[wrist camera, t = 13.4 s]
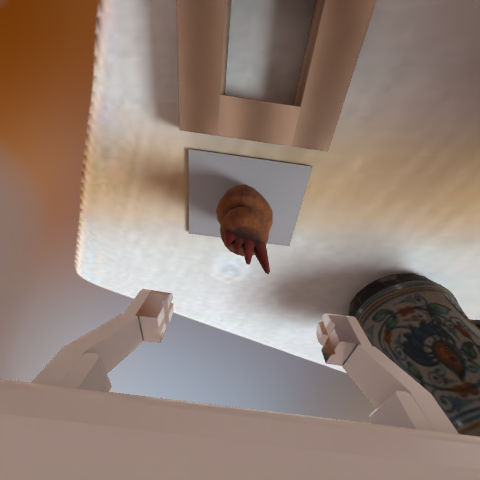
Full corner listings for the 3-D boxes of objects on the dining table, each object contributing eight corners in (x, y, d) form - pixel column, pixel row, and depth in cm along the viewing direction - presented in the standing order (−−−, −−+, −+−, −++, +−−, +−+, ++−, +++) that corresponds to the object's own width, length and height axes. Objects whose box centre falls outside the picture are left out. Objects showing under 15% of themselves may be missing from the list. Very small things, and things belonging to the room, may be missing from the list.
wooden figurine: (276, 203, 27) (305, 266, 14) (248, 231, 29) (251, 308, 16) (240, 170, 25) (234, 207, 12) (213, 202, 27) (183, 263, 14)
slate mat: (311, 166, 25) (312, 166, 24) (288, 244, 31) (289, 246, 30) (189, 148, 24) (188, 149, 24) (189, 231, 30) (188, 233, 30)
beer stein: (332, 325, 40) (437, 556, 18) (385, 248, 31) (740, 532, 9) (403, 337, 41) (584, 568, 19) (475, 267, 32) (983, 558, 10)
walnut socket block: (375, -55, 16) (410, -108, 13) (315, 149, 24) (327, 151, 20) (189, -90, 16) (172, -155, 12) (189, 131, 23) (179, 130, 20)
